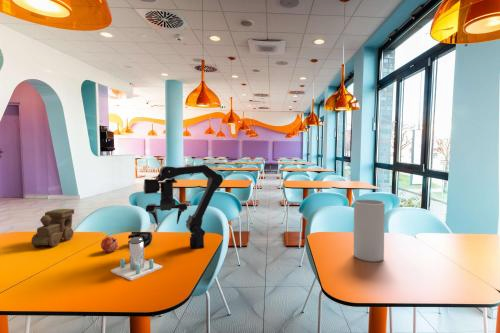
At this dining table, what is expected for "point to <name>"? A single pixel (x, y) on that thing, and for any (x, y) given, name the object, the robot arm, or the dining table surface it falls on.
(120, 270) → the tray
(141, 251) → the shaker
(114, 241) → the pomegranate
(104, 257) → the dining table surface
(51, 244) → the wooden toy train
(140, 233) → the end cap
